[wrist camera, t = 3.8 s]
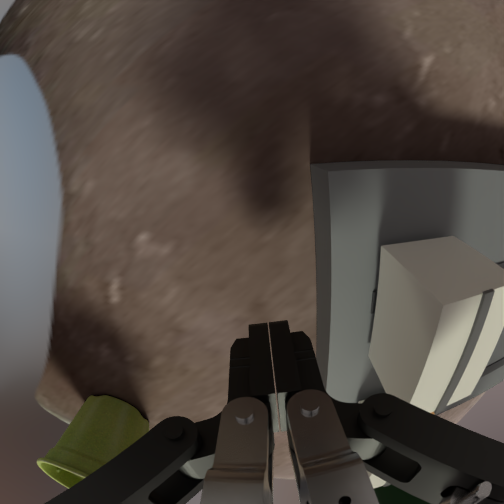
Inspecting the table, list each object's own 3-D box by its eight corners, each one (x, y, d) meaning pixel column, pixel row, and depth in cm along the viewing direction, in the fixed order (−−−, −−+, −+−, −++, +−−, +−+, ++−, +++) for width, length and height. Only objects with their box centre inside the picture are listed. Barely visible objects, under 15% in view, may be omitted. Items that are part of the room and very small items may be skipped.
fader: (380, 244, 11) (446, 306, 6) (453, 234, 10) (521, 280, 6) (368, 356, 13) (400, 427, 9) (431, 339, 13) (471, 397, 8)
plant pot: (156, 449, 22) (143, 519, 14) (72, 414, 21) (45, 478, 13) (179, 409, 19) (163, 505, 11) (71, 362, 18) (25, 445, 10)
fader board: (309, 164, 13) (328, 171, 10) (538, 169, 12) (564, 178, 9) (313, 421, 20) (319, 451, 17) (488, 363, 20) (502, 381, 17)
